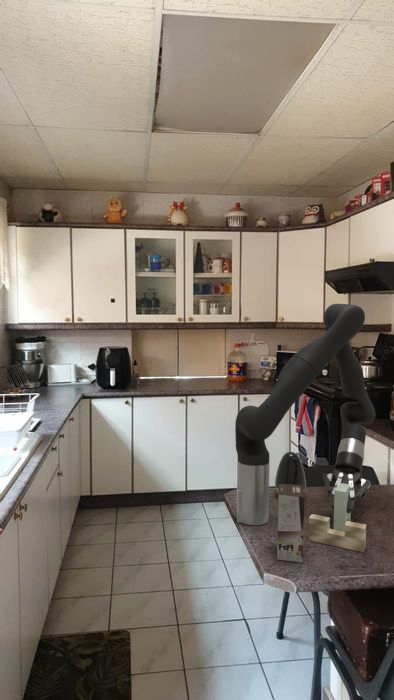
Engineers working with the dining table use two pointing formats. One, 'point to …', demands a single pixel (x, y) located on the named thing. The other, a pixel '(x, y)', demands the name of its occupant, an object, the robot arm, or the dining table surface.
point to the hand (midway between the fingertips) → (341, 510)
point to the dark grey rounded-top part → (290, 471)
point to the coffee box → (290, 522)
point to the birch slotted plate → (337, 533)
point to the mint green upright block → (341, 506)
